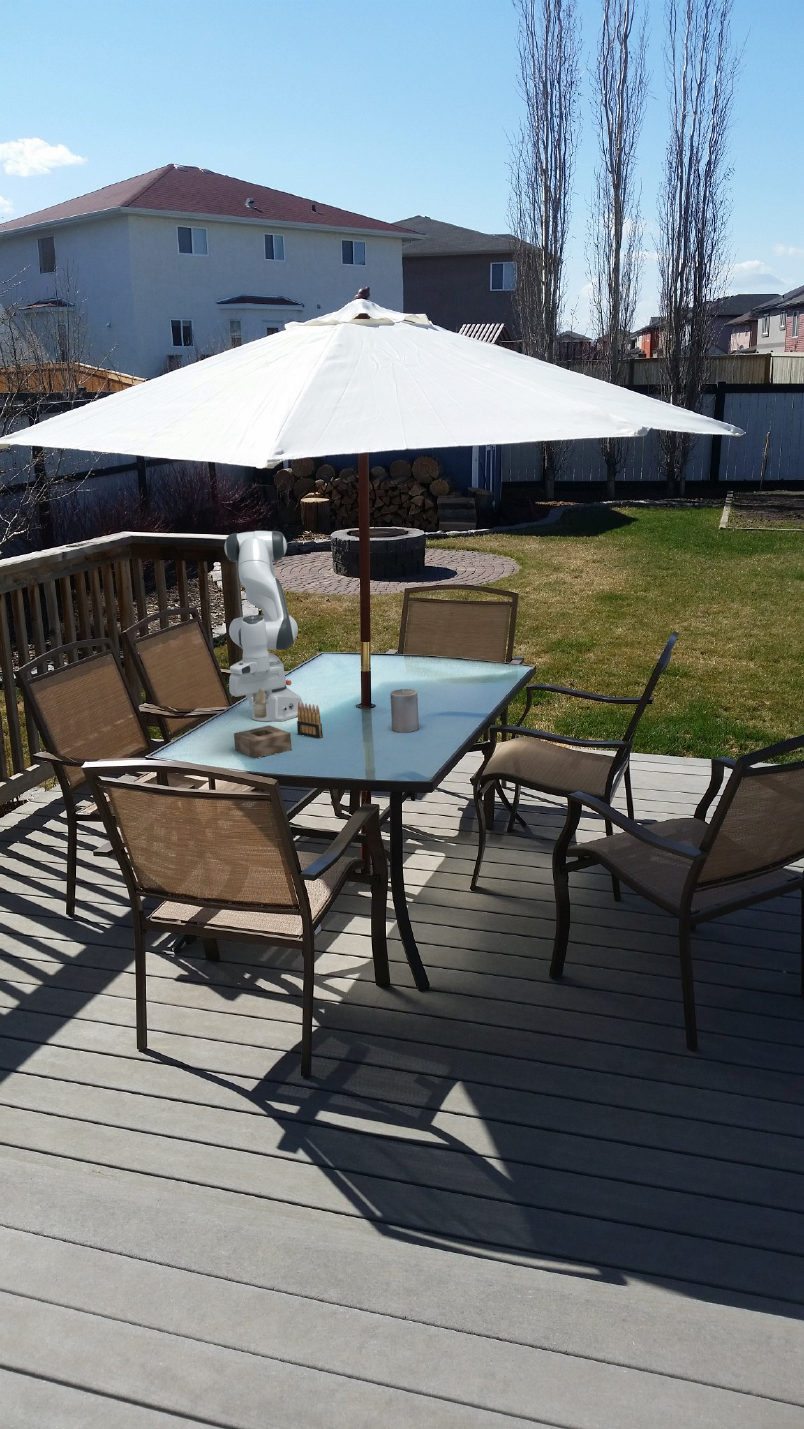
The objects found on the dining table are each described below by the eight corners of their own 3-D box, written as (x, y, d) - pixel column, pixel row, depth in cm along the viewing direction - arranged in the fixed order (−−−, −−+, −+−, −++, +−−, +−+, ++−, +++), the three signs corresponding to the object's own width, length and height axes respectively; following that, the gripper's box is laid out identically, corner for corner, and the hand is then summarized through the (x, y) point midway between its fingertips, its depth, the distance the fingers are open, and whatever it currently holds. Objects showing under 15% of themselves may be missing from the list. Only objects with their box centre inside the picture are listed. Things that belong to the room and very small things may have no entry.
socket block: (270, 741, 374) (269, 725, 372) (291, 749, 363) (290, 732, 362) (235, 750, 366) (233, 733, 364) (255, 758, 355) (254, 741, 353)
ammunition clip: (297, 734, 382) (295, 702, 378) (300, 733, 383) (298, 701, 380) (319, 738, 375) (317, 705, 372) (323, 737, 376) (321, 704, 373)
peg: (262, 714, 364) (260, 685, 361) (268, 716, 361) (266, 687, 358) (252, 716, 362) (250, 687, 359) (258, 718, 358) (256, 689, 356)
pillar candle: (395, 725, 388) (393, 685, 384) (421, 725, 386) (419, 685, 382) (389, 733, 379) (387, 692, 375) (416, 733, 377) (414, 692, 373)
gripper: (278, 658, 365) (281, 697, 369) (225, 668, 353) (228, 708, 357) (287, 660, 360) (290, 700, 364) (234, 670, 348) (238, 711, 352)
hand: (259, 704), depth 360 cm, fingers closed on peg, 4 cm apart
